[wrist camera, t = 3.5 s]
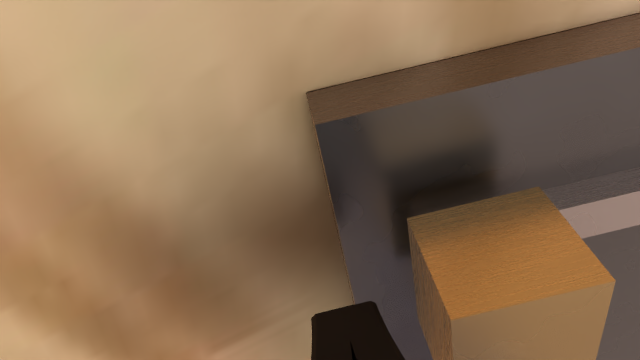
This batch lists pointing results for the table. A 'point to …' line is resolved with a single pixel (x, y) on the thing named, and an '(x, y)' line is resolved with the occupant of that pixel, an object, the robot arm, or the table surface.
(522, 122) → the plate
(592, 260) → the brass slider
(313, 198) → the table surface
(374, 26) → the table surface
